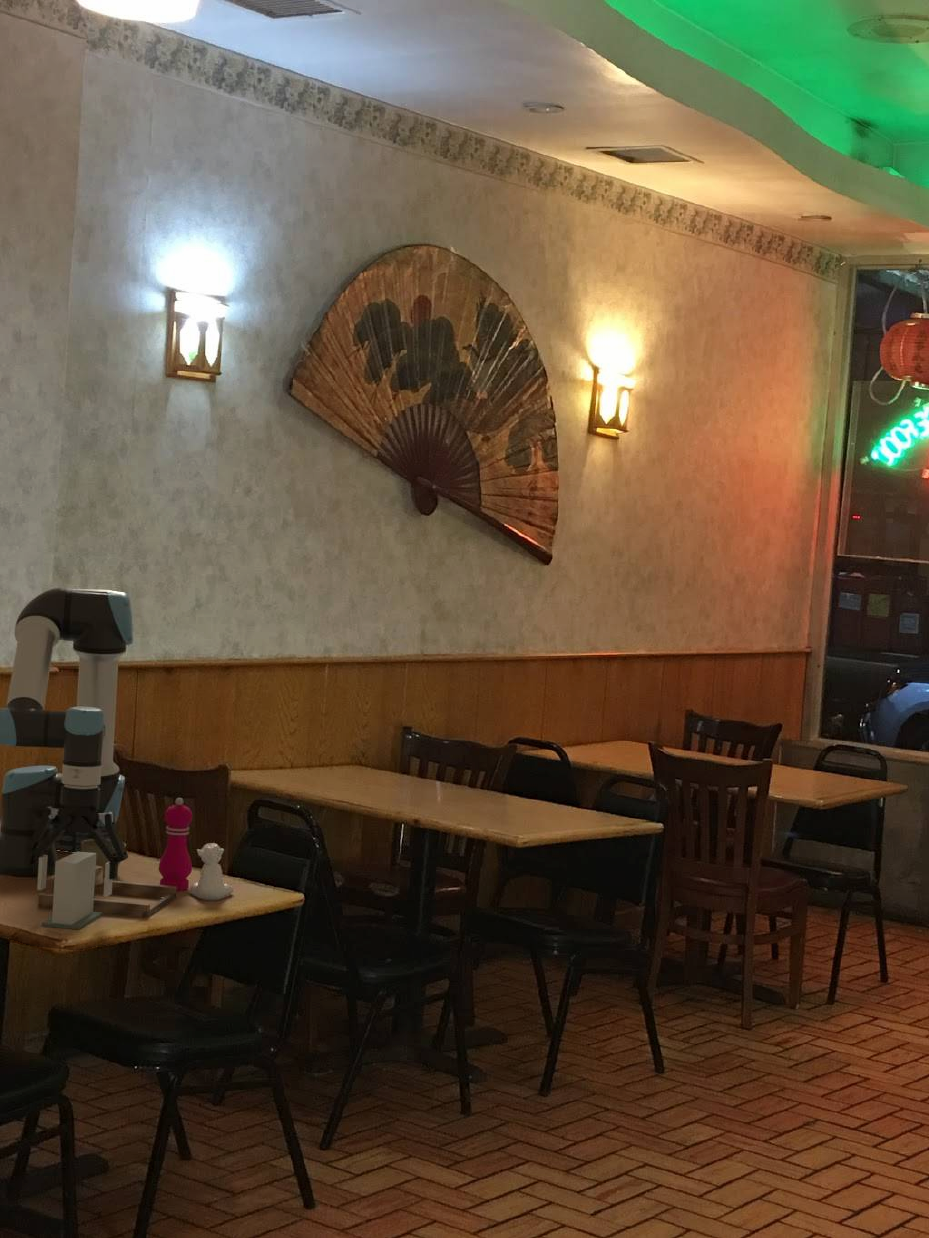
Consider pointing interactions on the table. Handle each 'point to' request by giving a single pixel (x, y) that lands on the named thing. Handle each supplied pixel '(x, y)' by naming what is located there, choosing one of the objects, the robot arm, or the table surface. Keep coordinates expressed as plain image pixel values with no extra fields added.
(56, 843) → the small box
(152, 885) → the wooden tray
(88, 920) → the mat
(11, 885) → the table surface
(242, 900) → the table surface
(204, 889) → the seated beast figurine
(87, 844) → the flower pot
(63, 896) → the block
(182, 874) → the pepper mill
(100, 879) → the offcut top
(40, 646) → the robot arm
